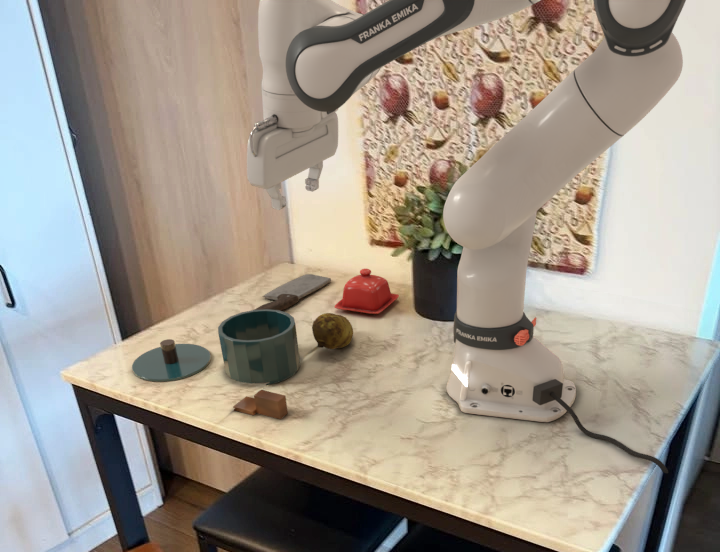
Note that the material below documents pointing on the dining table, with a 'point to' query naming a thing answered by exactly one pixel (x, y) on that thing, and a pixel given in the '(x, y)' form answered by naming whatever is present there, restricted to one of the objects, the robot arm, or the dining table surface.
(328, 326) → the potato
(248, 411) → the brown stepped bar
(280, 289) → the cleaver
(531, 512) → the dining table surface
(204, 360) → the lid
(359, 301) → the butter dish
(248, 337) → the pot
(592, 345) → the dining table surface
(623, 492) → the dining table surface
